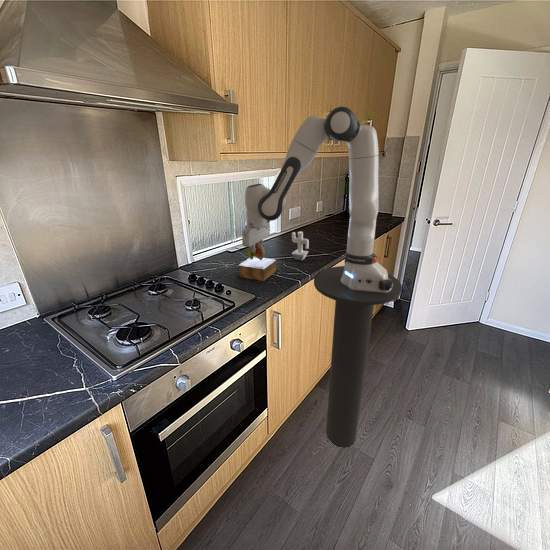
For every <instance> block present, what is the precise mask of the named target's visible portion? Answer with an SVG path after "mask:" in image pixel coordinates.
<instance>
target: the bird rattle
mask: <svg viewBox="0 0 550 550" xmlns="http://www.w3.org/2000/svg"><path fill="white" fill-rule="evenodd" d="M258 243H259V242H258ZM258 243H256V244H255V248H256V249H257V250H256V251H257V252H255V253H252V249H248V250H247V251H246V254H247V257H246V258H247V259H249V258H250V259H251V260H252V259H253V257H256V258H258V259H260V260H262V259H263V258H265V254H266V251H265V248H264V246H263V245H262V246H261V245H260V244H258Z"/></svg>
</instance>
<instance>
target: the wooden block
mask: <svg viewBox="0 0 550 550" xmlns="http://www.w3.org/2000/svg"><path fill="white" fill-rule="evenodd" d="M237 267H238V271H239V273H238V274H239V278H244V279H250V280H255V281H261V282H265V281H266V280H267V279H269V278H270V277H271V276H272V275H273V274H275V273H276V272H277V259H274V258H266V257H263V259H262V260H260V259H258V258H256V257H253V259H252V260H251V259H250V257H249V258H247V259H246V260H244V261H242V262H241V263H239V264H237Z"/></svg>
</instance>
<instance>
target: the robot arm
mask: <svg viewBox="0 0 550 550" xmlns="http://www.w3.org/2000/svg"><path fill="white" fill-rule="evenodd" d="M378 139H379V138H378V134H377V130H376V128H375V127H374V126H372V125H368V124H361V123H360V121H359V120H358V118H357V116H356V114H355V112H354V111H353V110H352V109H351V108H349V107H347V106H337V107H335V108H333V109H332V110H331V111H330V112H329V113H328V114H327V116H326V118H321V117H320V116H318V115H309V116H307V117H306V118H305V119H304V120H303V121H302V123H301V125H300V126H299V127H298V129H297V131H296V133H295V134H294V136H293V137H292V139H291V142H290V144H289V147H288V149H287V152H286V155H285V157H284V161H283V164H282V166H281V169H280V171H279V174H278V175H277V177H276V179H275V180H274V183H273V184H272V186H271V188H268V187H267V186H265V185H264V184H262V183H254V184H251V185H248V186H247V187H246V188H245V191H244V206H245V210H246V211H245V225H244V228H243V231H242V236H241V242H242V244H241V245H242V246H243V247H244V248H250V250H252V253H255V252H257V251H256V250H257V248H255V244H256V243H258V244H260V245H261V246H262V247H263V244H264V240H265V239H267V238H268V237H269V236H270V233H271V223H270V222H272V221H275V220H277V219H279V218H280V216H281V214H282V213H283V212H284V210H285V209H286V207H287V198H286V196H287V194H288V192H289V190H290V189H291V187H292V185H293V183H294V182H295V180H296V179H297V178H298V176H300V175H301V174H302V173H303V172H304V171H305V170H306V169H307V168H308V167H309V166H310V164H311V163H312V162H313V161H314V159H315V157H316V156H317V154H318V153H319V150H320V148H321V147H322V145H323V144H324V142H326V141H327V140H329V141H334V142H345V143H346V145H347V148H348V168H349V169H348V178H349V183H348V213H349V222H348V231H347V242H346V250H345V253H344V266H345V267H344V271H343V275H342V277H341V282H342V283H343V284H344V285H346V286H348V287H349V289H351V290H360V291H371V292H382V293H387V292H389V291H391V289H392V287H393V281H391V280H390V279H388V274H389V273H388V270H387V269H386V268H385V267H383V266H382V265H381V264H380V263H379V262H378V253H375V252H374V247H375V246H374V245H375V238H376V227H377V217H378V214H379V204H380V203H379V202H380V201H379V200H380V199H379V171H380V169H379V161H380V160H379V159H380V158H379V157H380V154H379V153H380V152H379V151H380V150H379V140H378Z"/></svg>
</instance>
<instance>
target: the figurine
mask: <svg viewBox="0 0 550 550" xmlns="http://www.w3.org/2000/svg"><path fill="white" fill-rule="evenodd" d="M291 242H292V243H295V244H297V249H295V250H293V251H292V252H291V255H292V257H293V259H294V260H296V261H297V260H298V261H303V260H305V259H306V257H307V255H308V253H309V252H310V251H309V250H308V249H309V248H310V247H309V246H310V241H309V239H308V238H304V232H303V231H297V237H296V232H295V231H293V232H291ZM304 245H305V250H304V249H303V248H304V247H303V246H304Z"/></svg>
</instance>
